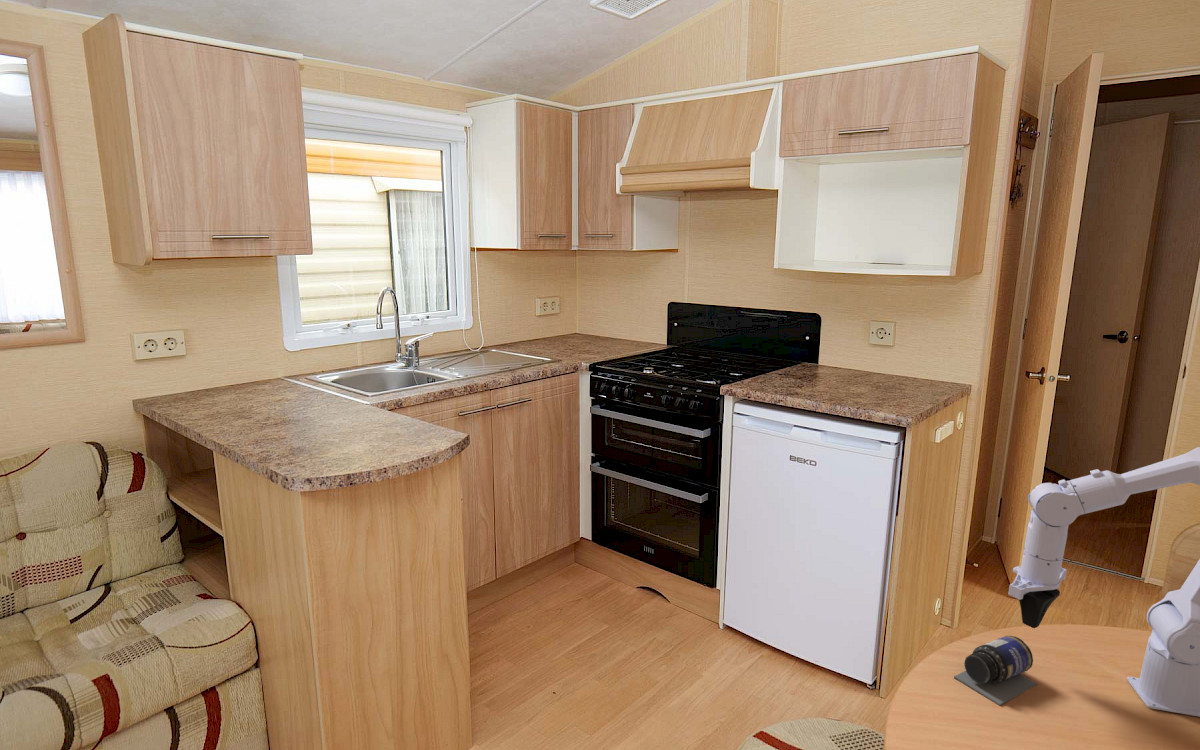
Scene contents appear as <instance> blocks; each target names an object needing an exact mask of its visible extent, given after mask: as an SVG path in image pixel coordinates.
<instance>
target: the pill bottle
mask: <svg viewBox="0 0 1200 750" xmlns="http://www.w3.org/2000/svg"><path fill="white" fill-rule="evenodd" d="M963 664H964V670H965V671H966V672H967V674H968V675H969V676H970V678H971V679H972V680H974V681H975V682H977V683H980V684H985V683H988V682H990V683H1000V682H1002V681H1005V680H1007V679H1009V678H1012V677H1014V676H1016V675H1019V674H1021V675H1022V674H1023V673H1025V672H1028V670H1030V669H1031V668H1032V666H1033V665H1034V656H1033V653H1032V651H1031V648H1030V647H1029V646H1028V645H1027V643H1025V642H1024V641H1023V640H1022V639H1020V638H1019V637H1017V636H1014V635H1005V636H1002V637H999V638H996V639H994V640H992V641H990V642H989V641H988V642H987V643H984V644H981V645H979V646H977V647H975V648H974V649H973V651H972V653H971V654H969V655H967V656H966V657H965V660H964V663H963Z"/></svg>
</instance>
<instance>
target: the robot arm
mask: <svg viewBox="0 0 1200 750" xmlns="http://www.w3.org/2000/svg"><path fill="white" fill-rule="evenodd" d="M1089 472H1090V473H1089V474H1088V475H1084V476H1080V477H1077V478H1073V479H1070V480H1065V479H1061V480H1058V482H1057V483H1058V484H1057V483H1052V482H1043V483H1040V484H1038V485H1036V486H1035V488H1033V489H1032V490H1031V492H1030V493H1028V494H1027V500H1028V503H1029V505H1030V506H1031V508H1032V509H1031V511H1030V517H1029V522H1028V525H1027V529H1026V534H1025V541H1024V546H1023V552H1022V556H1021V557H1022V558H1021V564H1020V565H1016V566H1014V567H1013V569H1012V572H1013V573H1015V574H1016V576H1015V578H1014V580H1013V582H1012V583H1010V584H1009V586H1008V594H1007V595H1008V596H1010V597H1013V599H1017V600H1018V601H1019V606H1020V613H1021V621H1022V624H1024V625H1026V626H1027V627H1030V628H1032V629H1036V628H1039V626H1040V625H1041V623H1042V621H1043V619H1044V617H1045V615H1046V613H1047V611H1048V609H1049V608H1050V606H1051V605H1052V604H1053V602H1054V601H1055V600H1056V599H1058V597H1060V595H1061V594H1060V592H1061V591H1060V590H1059V587H1060V586H1061V582H1062V581H1065V580H1066V576H1067V572H1068V570H1067V568H1063V567H1062V565H1063V561H1064V555H1065V550H1066V545H1067V540H1068V533H1069V532H1068V530H1069V525H1071V524H1072V523H1074V521H1075V520H1076V519H1077V518H1078V517H1079V516H1082V515H1086V514H1090V513H1093V512H1098V511H1102V510H1106V509H1110V508H1114V507H1117V506H1122V505H1125V503H1126V502H1127V500H1128V499H1129V497H1130V496H1131V495H1135V494H1141V493H1144V492H1149V491H1155V490H1159V489H1164V488H1168V487H1174V486H1178V485H1179V486H1180V485H1184V484H1187V483H1188V484H1189V483H1191V484H1194V485H1198V486H1200V446H1198V447H1195V448H1193V449H1191V450H1190V451H1188V452H1186V453H1183V454H1180V455H1177V456H1173V457H1170V458H1167V459H1164V460H1161V461H1158V462H1155V463H1152V464H1149V465H1146V466H1143V467H1139V468H1136V469H1133V470H1129V471H1127V472H1124V473H1121V474H1120V473H1115V472H1113V471H1111V470H1108V469H1107V470H1102V471H1101V470H1099V469H1098V468H1097V469H1093V470H1090V471H1089ZM1146 621H1147V623H1148V625H1149V626H1150V628H1151V629H1152V630H1151V634H1150V635H1149V637H1148V639H1147V644H1146V648H1145V649H1146V650H1145V652H1144V658H1143V661H1142V666H1141V671H1140V675H1139V677H1135V676H1127V677H1126V680H1127V681H1128V683H1129V684H1130V685H1131V687H1132V688H1133V689H1134V691H1135V692H1136V694H1137V695H1138V696H1139V698H1140V699H1141V700H1142V701H1143V702H1144V704H1145V706H1147V708H1149V709H1153V710H1160V711H1165V712H1169V713H1170V712H1171V713H1175V714H1182V715H1187V716H1193V717H1199V718H1200V558H1199V559H1198V560H1197V562H1196V564H1195V566H1194V567H1193V569H1192V570H1191V571H1190V573H1189V575H1188V576H1187V578H1186V580H1185V581H1184V582H1183V584H1182V585H1181V587H1180V588H1179V589H1176V590H1170V591H1168V592H1166V594H1165V596H1164V597H1163V598H1162V599H1161V600H1159V601H1158V602H1156V603H1154V604H1152V606H1150V607H1149V609H1148V610H1147V613H1146Z"/></svg>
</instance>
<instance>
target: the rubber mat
mask: <svg viewBox="0 0 1200 750" xmlns="http://www.w3.org/2000/svg"><path fill="white" fill-rule="evenodd" d="M953 679H954V680H957V681H958V682H960V683H962V684H964V686H967V687H968V688H969V689H972V690H973V691H975V692H976V693H978V694H980V695H981V696H983V697H984V698H986V699H988V700H989V701H991V702H993V703H995V704H996V705H998V706H999V707H1000V706H1002V705H1004V704H1006V703H1008V702H1009V701H1011V700H1013V699H1014V698H1016V697H1018V696H1020V695H1021V694H1023V693H1025V692H1027V691H1029V690H1030V689H1032V688H1034V687H1035V686H1037V685H1038V683H1037V682H1035V681H1034V680H1032V679H1029V678H1028V677H1026V676H1025V675H1023V674H1022V673H1021V674H1019V675H1016V676H1014V677H1012V678H1009V679H1007V680H1005V681H1002V682H1000V683H990V682H988V683H985V684H980V683H977V682H975V681H974V680H972V679H971V678H970V676H969V675H968V674H967V672H966V670H964V671H962V672H960V673H958V674H956V675H954V676H953Z"/></svg>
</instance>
